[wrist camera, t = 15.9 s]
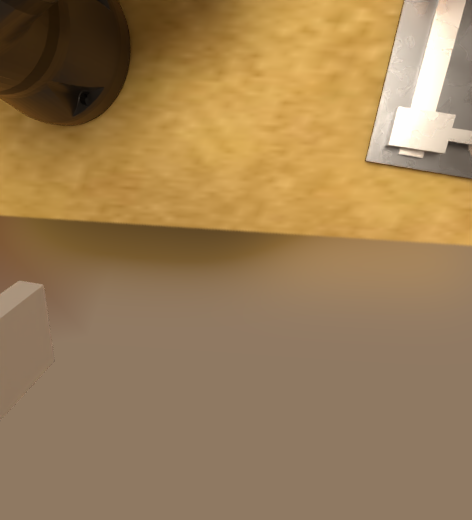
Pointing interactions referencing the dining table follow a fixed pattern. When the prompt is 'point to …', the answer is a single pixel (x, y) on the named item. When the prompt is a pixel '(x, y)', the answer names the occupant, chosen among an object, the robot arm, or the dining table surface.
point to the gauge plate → (428, 91)
